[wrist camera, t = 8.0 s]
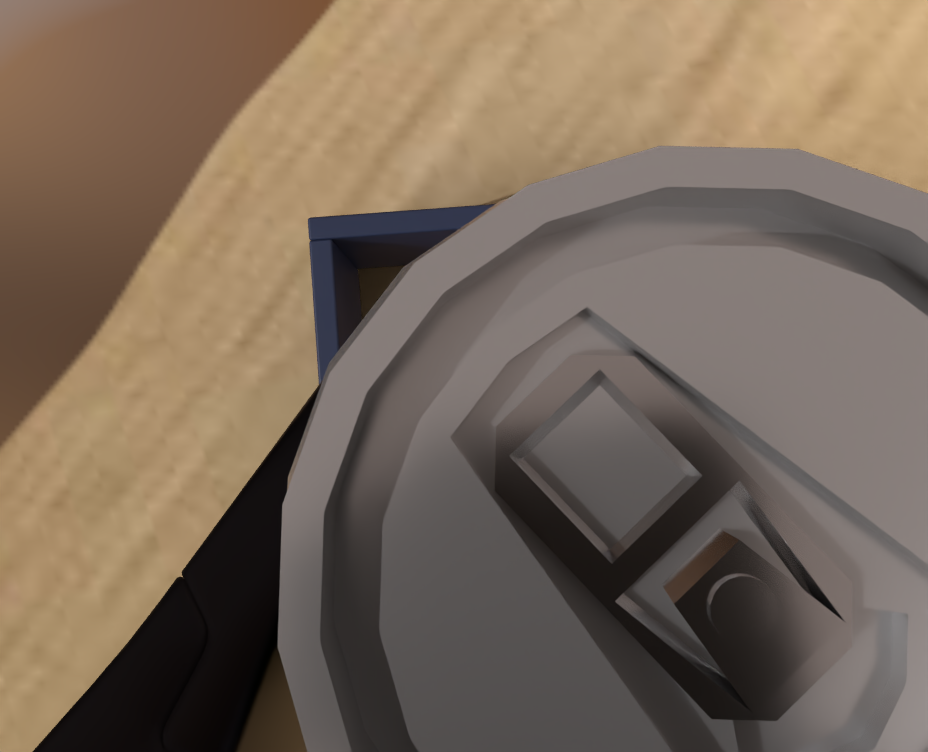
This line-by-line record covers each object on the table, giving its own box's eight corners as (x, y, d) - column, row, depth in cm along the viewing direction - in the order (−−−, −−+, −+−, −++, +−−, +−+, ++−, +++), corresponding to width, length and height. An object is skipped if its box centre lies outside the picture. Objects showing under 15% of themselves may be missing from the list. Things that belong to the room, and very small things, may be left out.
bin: (713, 575, 22) (775, 621, 18) (362, 601, 22) (336, 653, 18) (685, 226, 23) (739, 185, 18) (338, 252, 23) (307, 216, 18)
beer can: (360, 443, 16) (29, 569, 4) (532, 279, 16) (730, -92, 4) (525, 618, 16) (717, 1318, 4) (698, 451, 16) (1428, 604, 4)
